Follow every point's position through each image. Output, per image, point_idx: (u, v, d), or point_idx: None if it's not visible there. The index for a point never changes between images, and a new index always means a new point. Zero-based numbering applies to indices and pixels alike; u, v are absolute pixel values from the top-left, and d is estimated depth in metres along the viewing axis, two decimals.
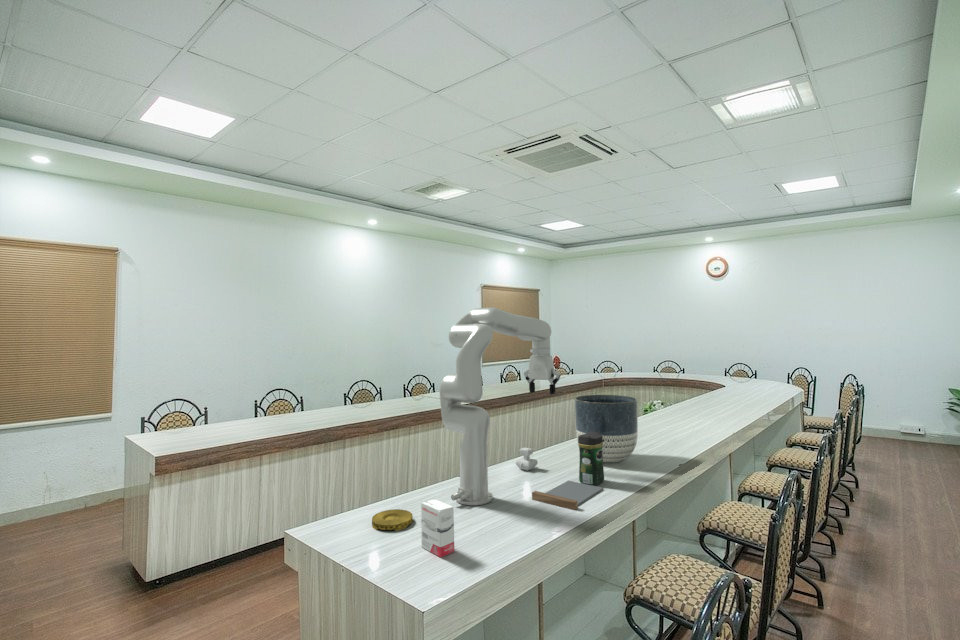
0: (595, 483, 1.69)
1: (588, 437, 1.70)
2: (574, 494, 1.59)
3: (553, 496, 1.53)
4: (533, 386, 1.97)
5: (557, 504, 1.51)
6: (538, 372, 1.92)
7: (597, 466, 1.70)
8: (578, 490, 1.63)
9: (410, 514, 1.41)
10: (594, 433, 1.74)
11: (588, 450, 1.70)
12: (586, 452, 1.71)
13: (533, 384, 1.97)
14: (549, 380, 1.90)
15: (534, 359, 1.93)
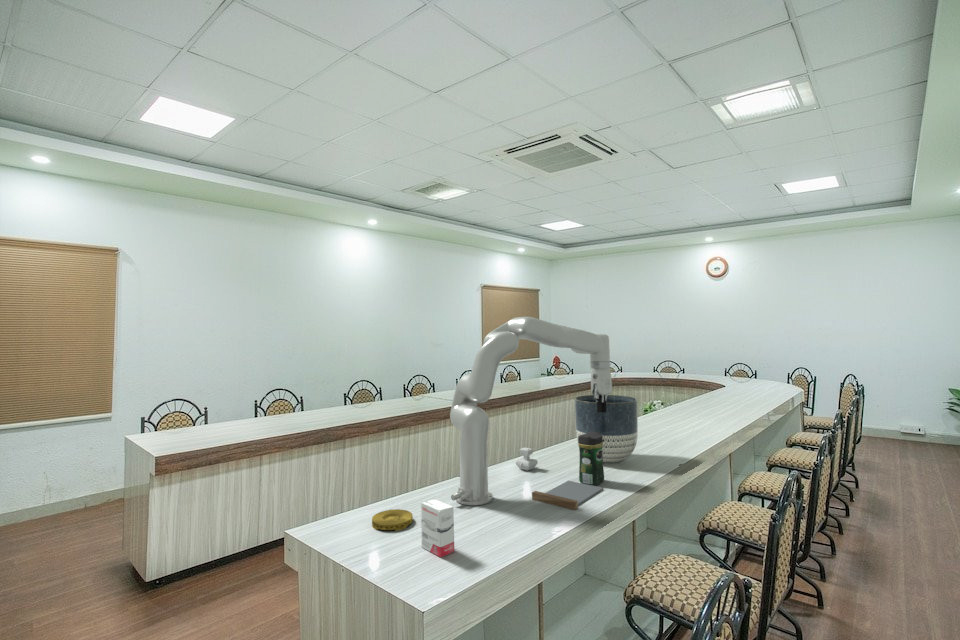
0: (595, 483, 1.69)
1: (588, 437, 1.70)
2: (574, 494, 1.59)
3: (553, 496, 1.53)
4: None
5: (557, 504, 1.51)
6: (607, 386, 1.81)
7: (597, 466, 1.70)
8: (578, 490, 1.63)
9: (410, 514, 1.41)
10: (594, 433, 1.74)
11: (588, 450, 1.70)
12: (586, 452, 1.71)
13: None
14: (605, 396, 1.83)
15: (605, 373, 1.80)
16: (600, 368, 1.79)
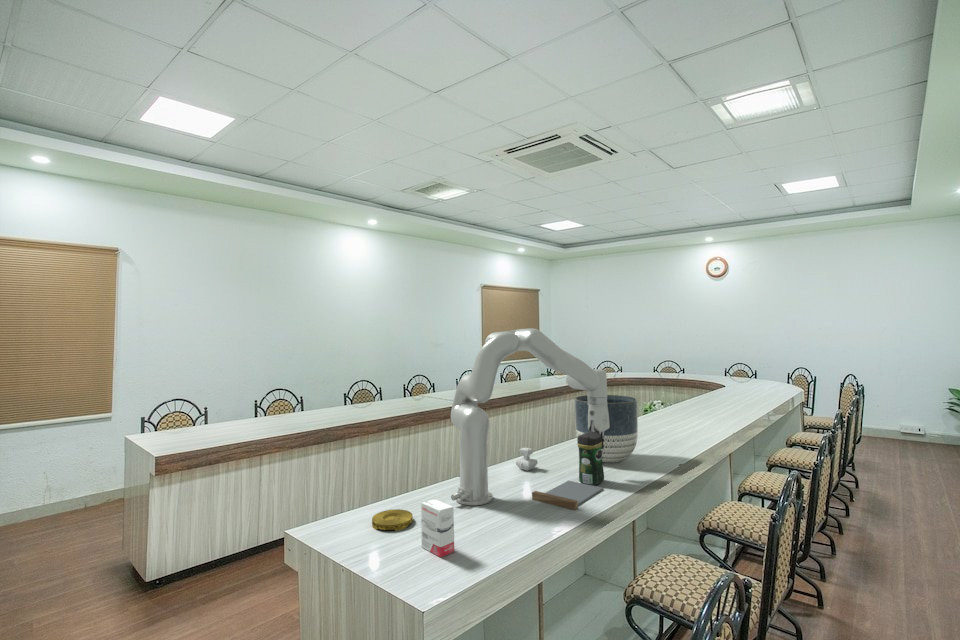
0: (595, 483, 1.69)
1: (587, 437, 1.70)
2: (574, 494, 1.59)
3: (553, 496, 1.53)
4: None
5: (557, 504, 1.51)
6: (605, 423, 1.78)
7: (597, 466, 1.70)
8: (578, 490, 1.63)
9: (410, 514, 1.41)
10: (593, 433, 1.74)
11: (587, 450, 1.70)
12: (586, 453, 1.70)
13: None
14: (603, 432, 1.80)
15: (602, 410, 1.77)
16: (597, 404, 1.76)
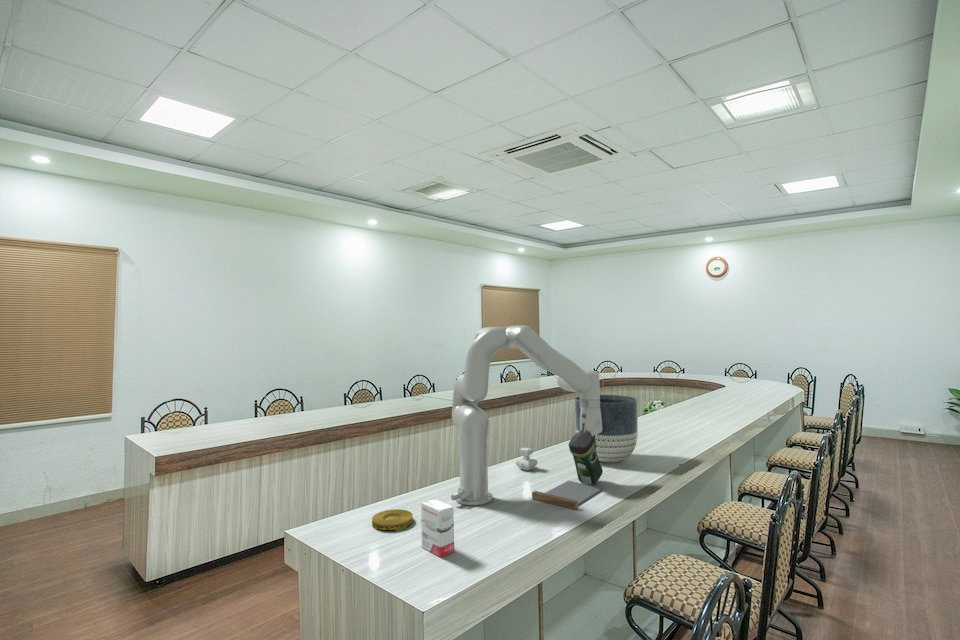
0: (594, 482, 1.69)
1: (578, 447, 1.64)
2: (574, 494, 1.59)
3: (553, 496, 1.53)
4: None
5: (557, 504, 1.51)
6: (597, 426, 1.73)
7: (593, 467, 1.67)
8: (578, 490, 1.63)
9: (410, 514, 1.41)
10: (584, 437, 1.67)
11: (581, 458, 1.65)
12: (580, 459, 1.66)
13: None
14: (595, 435, 1.75)
15: (594, 413, 1.72)
16: (590, 407, 1.71)
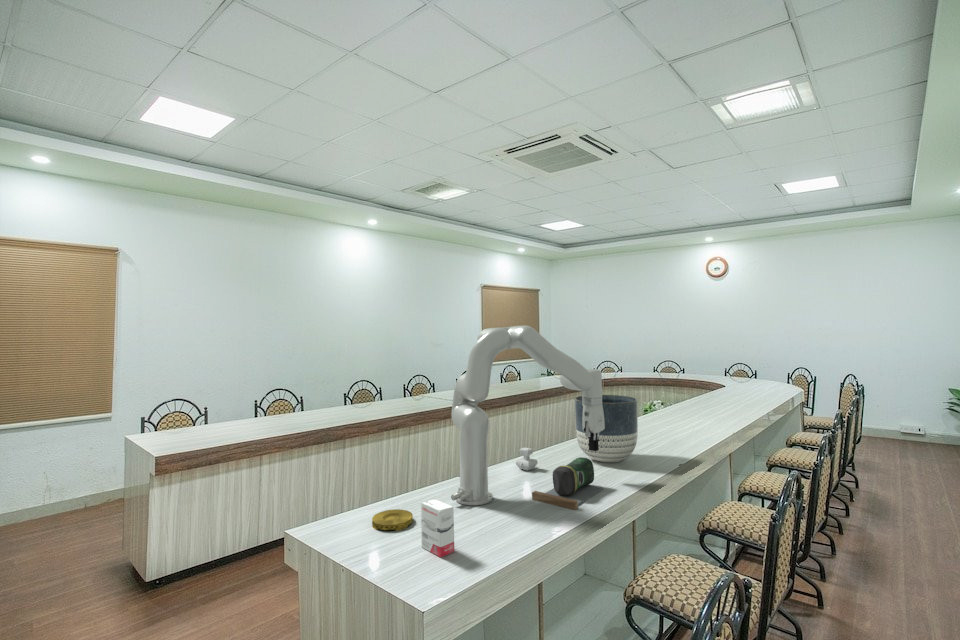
0: (593, 480, 1.68)
1: (566, 494, 1.56)
2: (574, 494, 1.59)
3: (553, 496, 1.53)
4: None
5: (557, 504, 1.51)
6: (599, 424, 1.75)
7: (586, 480, 1.64)
8: (578, 490, 1.63)
9: (410, 514, 1.41)
10: (563, 479, 1.57)
11: None
12: None
13: None
14: (598, 433, 1.76)
15: (597, 411, 1.73)
16: (592, 405, 1.73)
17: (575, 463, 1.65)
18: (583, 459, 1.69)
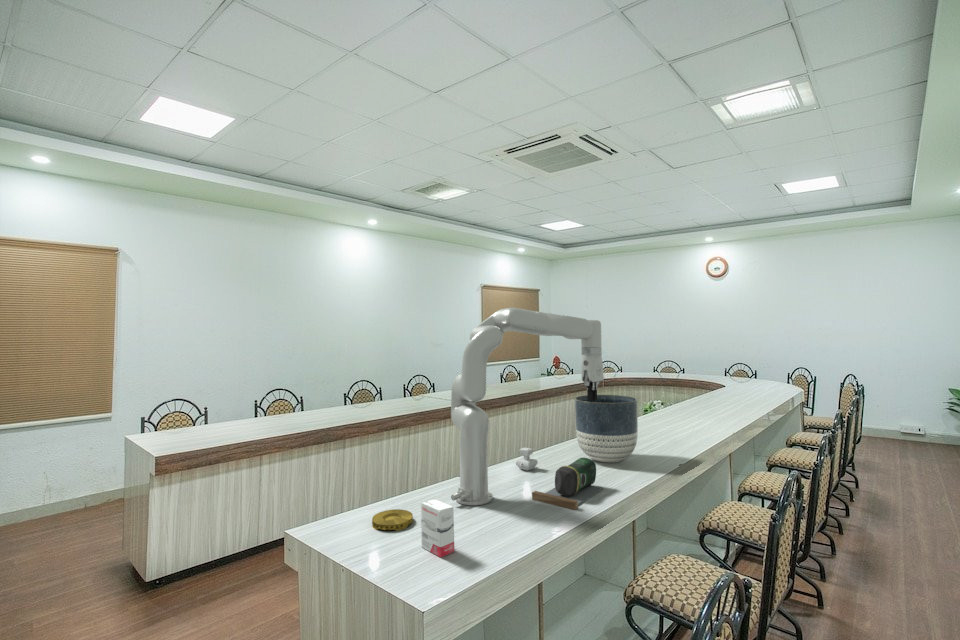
0: (593, 482, 1.68)
1: (567, 495, 1.56)
2: (574, 494, 1.59)
3: (553, 496, 1.53)
4: None
5: (557, 504, 1.51)
6: (598, 374, 1.76)
7: (587, 482, 1.63)
8: (578, 490, 1.63)
9: (410, 514, 1.41)
10: (566, 480, 1.56)
11: None
12: None
13: None
14: (596, 384, 1.77)
15: (596, 360, 1.74)
16: (591, 354, 1.74)
17: (579, 464, 1.64)
18: (587, 460, 1.68)
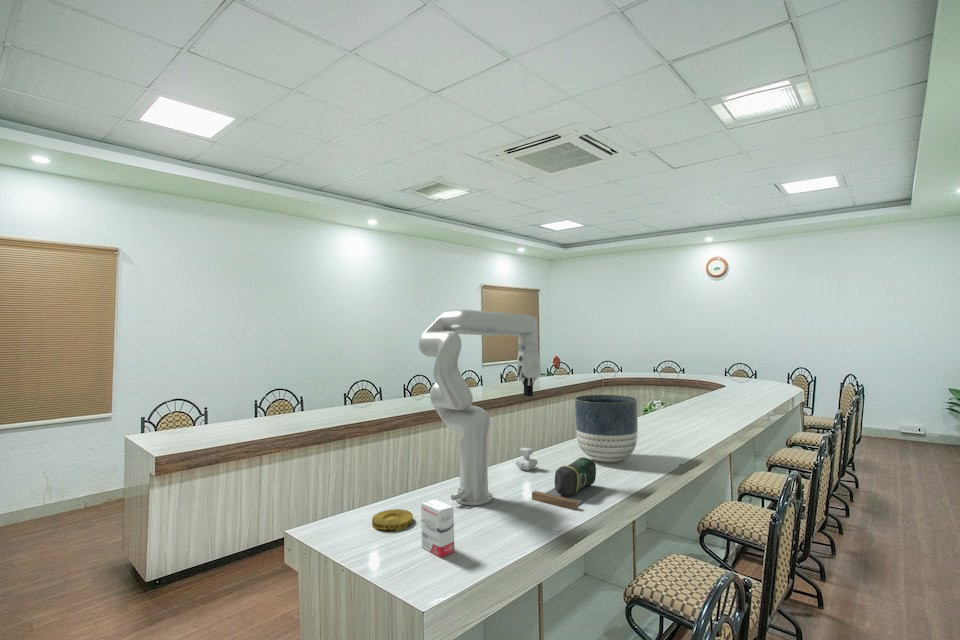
0: (593, 482, 1.68)
1: (567, 495, 1.56)
2: (574, 494, 1.59)
3: (553, 496, 1.53)
4: None
5: (557, 504, 1.51)
6: (534, 369, 1.78)
7: (587, 482, 1.63)
8: (578, 490, 1.63)
9: (410, 514, 1.41)
10: (566, 480, 1.56)
11: None
12: None
13: None
14: (533, 379, 1.80)
15: (531, 356, 1.77)
16: (526, 350, 1.77)
17: (579, 464, 1.64)
18: (587, 460, 1.68)
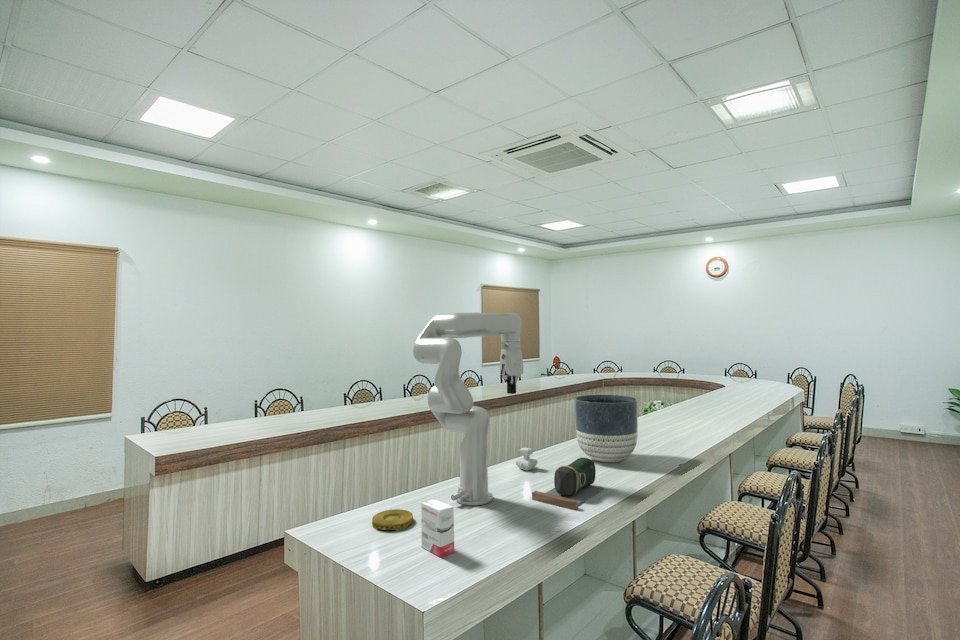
0: (593, 481, 1.68)
1: (567, 495, 1.56)
2: (574, 494, 1.59)
3: (553, 496, 1.53)
4: None
5: (557, 504, 1.51)
6: (517, 367, 1.79)
7: (587, 482, 1.63)
8: (578, 490, 1.63)
9: (410, 514, 1.41)
10: (565, 480, 1.56)
11: None
12: None
13: None
14: (516, 377, 1.81)
15: (513, 354, 1.78)
16: (509, 348, 1.77)
17: (578, 464, 1.64)
18: (586, 460, 1.68)
